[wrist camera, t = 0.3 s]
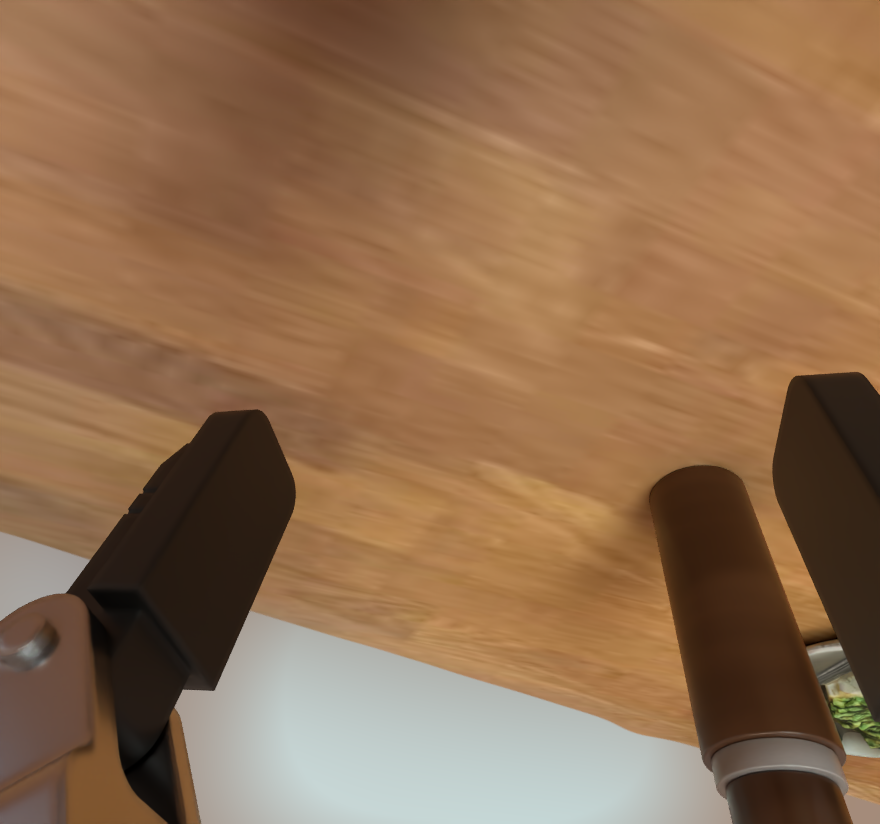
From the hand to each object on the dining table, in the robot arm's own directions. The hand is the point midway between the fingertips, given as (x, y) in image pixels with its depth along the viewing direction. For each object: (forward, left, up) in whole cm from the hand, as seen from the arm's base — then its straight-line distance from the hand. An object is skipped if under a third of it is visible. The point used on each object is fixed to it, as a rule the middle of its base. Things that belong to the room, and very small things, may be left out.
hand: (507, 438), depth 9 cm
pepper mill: (+22, +8, -18) cm, 29 cm away
